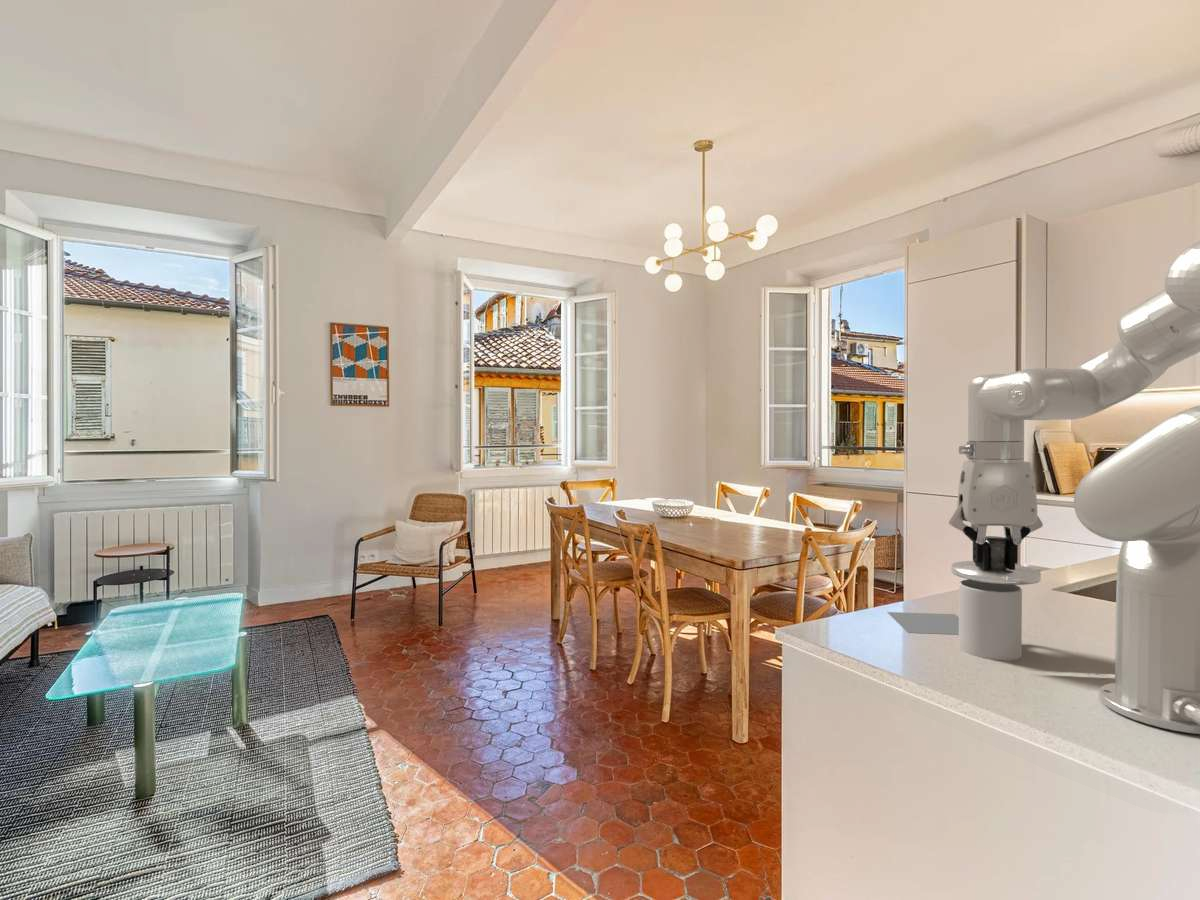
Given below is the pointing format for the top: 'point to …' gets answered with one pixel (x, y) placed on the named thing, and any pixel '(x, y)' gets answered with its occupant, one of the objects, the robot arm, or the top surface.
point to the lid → (996, 567)
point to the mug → (990, 620)
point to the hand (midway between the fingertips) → (994, 566)
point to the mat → (927, 622)
